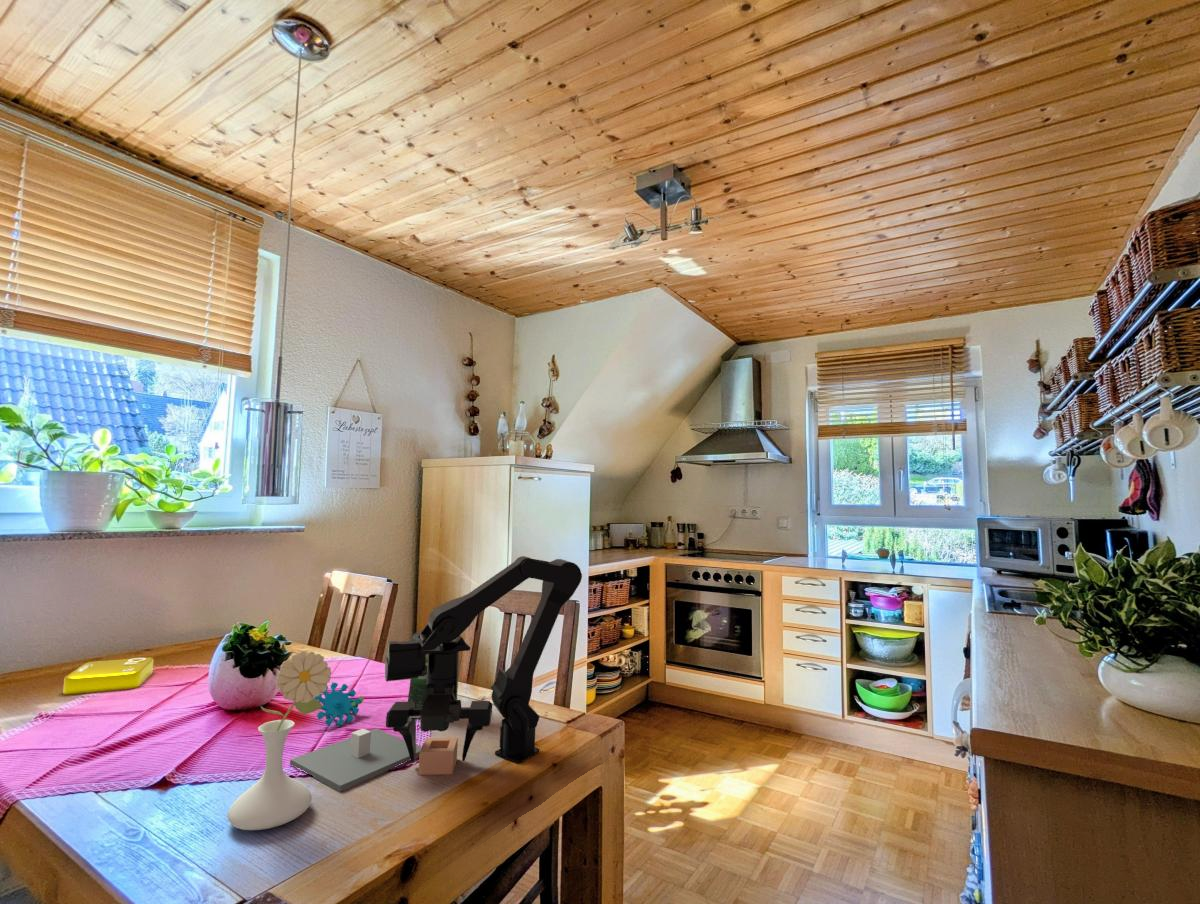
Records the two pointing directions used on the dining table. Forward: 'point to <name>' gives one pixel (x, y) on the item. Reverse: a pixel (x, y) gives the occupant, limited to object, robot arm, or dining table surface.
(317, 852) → the dining table surface
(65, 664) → the dining table surface
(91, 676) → the element tile
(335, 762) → the post plate
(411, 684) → the coffee jar
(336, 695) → the teal virus model
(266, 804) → the flower in vase
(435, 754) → the collar
